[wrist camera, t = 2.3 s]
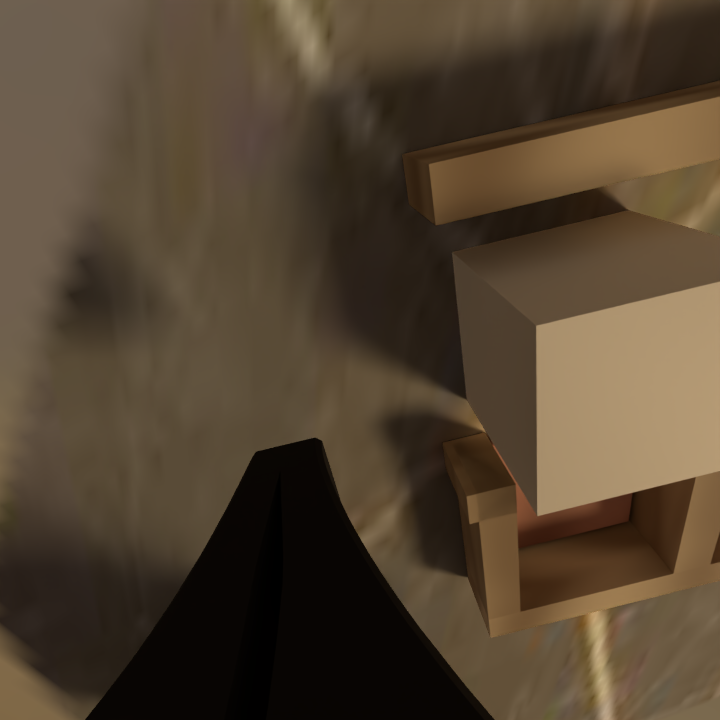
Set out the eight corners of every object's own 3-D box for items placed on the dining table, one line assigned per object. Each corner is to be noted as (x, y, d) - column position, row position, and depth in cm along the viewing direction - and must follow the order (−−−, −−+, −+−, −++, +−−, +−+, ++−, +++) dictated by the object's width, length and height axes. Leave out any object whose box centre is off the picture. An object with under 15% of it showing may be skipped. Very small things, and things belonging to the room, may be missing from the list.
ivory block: (465, 398, 15) (537, 516, 11) (450, 251, 12) (536, 325, 8) (612, 362, 15) (743, 465, 11) (626, 209, 13) (804, 261, 8)
